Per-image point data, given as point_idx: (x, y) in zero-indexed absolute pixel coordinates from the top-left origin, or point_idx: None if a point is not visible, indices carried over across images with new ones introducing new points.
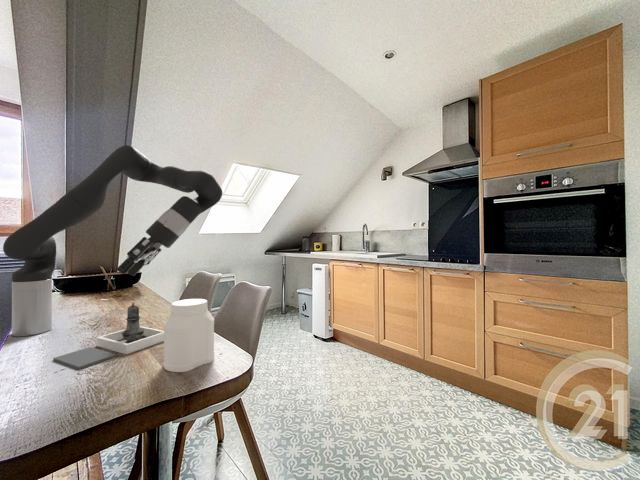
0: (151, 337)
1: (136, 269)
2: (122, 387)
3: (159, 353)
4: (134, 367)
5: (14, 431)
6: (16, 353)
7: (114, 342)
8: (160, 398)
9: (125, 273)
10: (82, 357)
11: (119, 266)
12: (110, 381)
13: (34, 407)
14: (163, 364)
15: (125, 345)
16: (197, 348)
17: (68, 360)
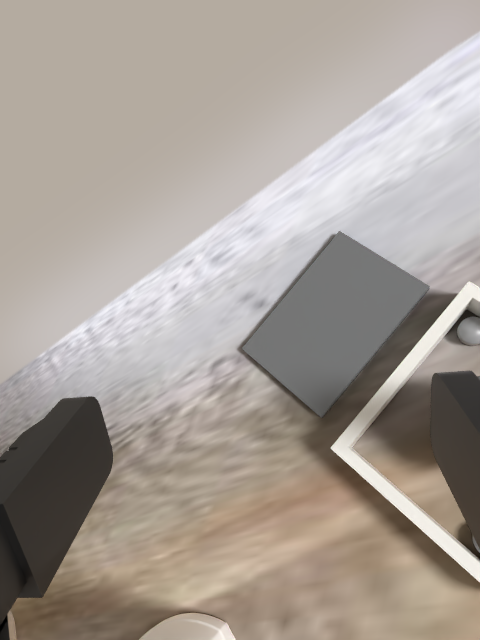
0: (425, 531)
1: (466, 490)
2: (99, 515)
3: (314, 579)
4: (210, 512)
5: (21, 378)
6: (435, 85)
7: (382, 385)
8: (16, 626)
9: (102, 473)
10: (319, 317)
11: (47, 418)
12: (142, 471)
13: (84, 361)
14: (179, 615)
15: (335, 443)
16: None
17: (304, 288)
